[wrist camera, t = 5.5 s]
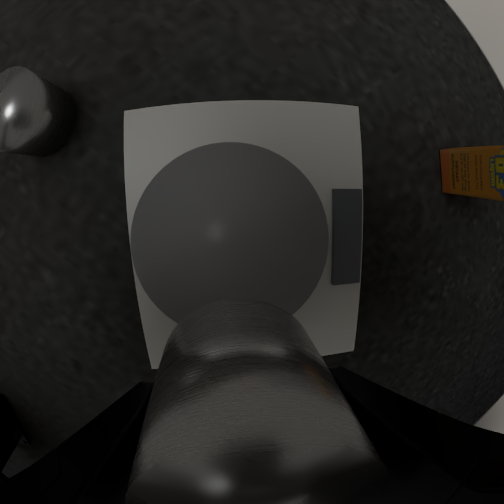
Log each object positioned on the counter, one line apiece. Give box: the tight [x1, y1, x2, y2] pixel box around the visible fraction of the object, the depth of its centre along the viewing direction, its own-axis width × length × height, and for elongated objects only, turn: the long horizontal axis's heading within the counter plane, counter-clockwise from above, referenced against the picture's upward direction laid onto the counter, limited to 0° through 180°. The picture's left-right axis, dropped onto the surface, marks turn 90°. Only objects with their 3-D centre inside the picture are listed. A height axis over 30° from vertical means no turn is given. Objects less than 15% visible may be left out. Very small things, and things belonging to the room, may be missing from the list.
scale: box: [124, 100, 363, 369], centre depth 15 cm, size 14×12×3 cm
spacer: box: [125, 298, 389, 504], centre depth 6 cm, size 4×4×5 cm
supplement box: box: [440, 146, 504, 201], centre depth 12 cm, size 3×3×10 cm
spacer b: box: [0, 66, 77, 157], centre depth 11 cm, size 4×4×5 cm
